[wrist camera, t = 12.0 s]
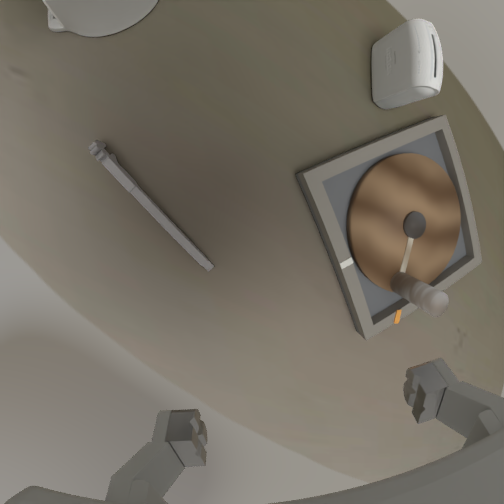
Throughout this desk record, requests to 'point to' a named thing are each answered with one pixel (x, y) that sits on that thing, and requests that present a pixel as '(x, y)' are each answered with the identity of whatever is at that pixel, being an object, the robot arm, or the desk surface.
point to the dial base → (336, 209)
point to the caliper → (147, 202)
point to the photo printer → (407, 65)
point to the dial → (405, 227)
